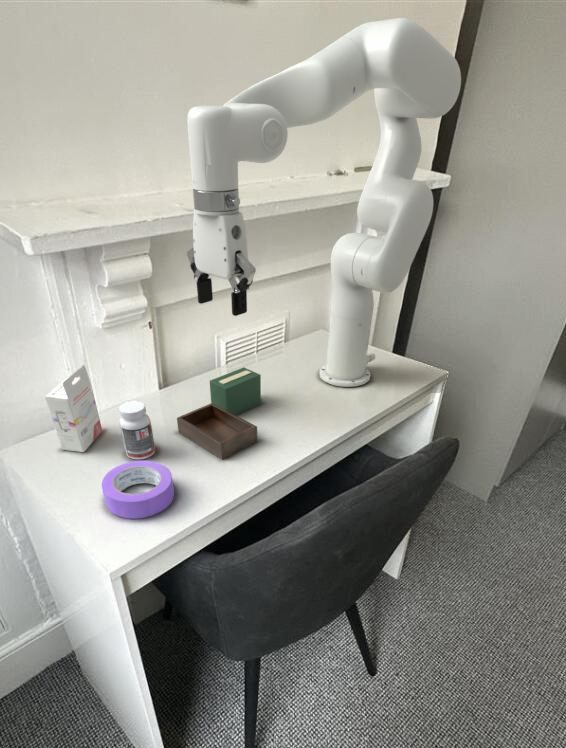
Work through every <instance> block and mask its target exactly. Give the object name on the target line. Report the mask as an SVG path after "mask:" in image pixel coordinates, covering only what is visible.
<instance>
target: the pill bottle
mask: <svg viewBox="0 0 566 748" xmlns="http://www.w3.org/2000/svg"><path fill="white" fill-rule="evenodd" d="M118 409H119V414H120V416H121V417H120V419H119V421H118V422H119V423H118V424H119V428H120V433H121V437H122V442H123V446H124V451H125V454H126V456H127V458H129V459H133V460H136V461H141V460H144V459H149V458H150V457H152V456H153V455H154V454H155V452H156V444H155V439H154V433H153V428H152V427H153V426H152V422H151V418H150V416H149V414H147V409H146V404H145V403H144V402H142V401H139V400H129V401H125V402H124V403H122V404H120V406H119V408H118Z"/></svg>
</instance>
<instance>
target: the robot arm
mask: <svg viewBox="0 0 566 748" xmlns="http://www.w3.org/2000/svg"><path fill="white" fill-rule="evenodd" d="M461 86H462V73H461V68H460V66H459V63H458V60H457V59H456V57H455V56H454V55H453V54H452V53H451V52H450V51H449V50H448V49H447V48H446V47H445V46H444V45H442V44H441V42H439V40H437V39H436V38H435V37H434V36H433V35H432V34H431V33H430V31H427V29H426V28H424V27H423V26H421V25H420V24H419V23H418V22H416V21H414V20H412V19H410V18H406V17H398V18H389V19H382V20H381V19H380V20H376V21H367V22H365V23H362V24H360V25H358V26H357V27H355V28H353V29H352V30H350V31H348V32H347V33H345V34H344V35H342V36H340V37H339V38H338V39H336V40H335V41H333V42H331V43H330V44H329V45H327V46H326V47H324V48H323V49H321V50H319V51H318V52H316V53H315V54H313V55H311V56H309V57H308V58H306V59H305V60H303V61H301V62H298V63H296V64H294V65H291V66H290V67H288V68H286V69H284V70H282V71H280V72H278V73H276V74H274V75H272V76H270V77H266V78H265V79H263V80H261V81H258V82H257V83H255V84H253V85H250V86H249V87H248V88H246V89H245V90H242V91H241V92H240V93H238V94H236V95H234V97H232V98H231V99H229V100H227V101H226V102H224V104H223V105H197V106H193V107H191V108H190V109H189V110H188V112H187V115H186V120H187V124H186V125H187V135H188V136H187V137H188V138H187V139H188V149H189V150H188V151H189V160H190V174H191V185H192V187H191V188H192V198H193V199H192V200H193V218H192V220H193V221H192V243H193V245H192V248H190V249H189V250H187V251H186V255H187V258H188V261H189V264H190V265H189V266H190V269H191V271H192V273H193V279H194V280H195V281H196V292H197V303H198V304H200V305H202V304H205V303H208V302H212V301H213V299H214V296H213V282H212V278H211V277H210V276H212V277H217V278H220V279H223V280H228V282H229V285H230V286H231V288H232V291H233V292H230V293H231V294H230V296H231V297H230V301H231V314H232V316H234V317H237V316H240V315H243V314H246V313H247V311H248V297H247V296H248V291H249V290H250V287H251V285H252V284H253V282H254V277H255V275H256V273H257V272H256V271H257V269H256V266H254V265H253V264H252V263H251V261H250V260H249V252H248V239H247V233H246V225H245V219H244V216H243V213H242V212H241V211H240V205H241V198H240V197H239V196H240V195H239V193H240V191H239V163H240V162H248V163H254V164H255V163H256V164H267V163H271V162H272V161H274V160H276V159H278V157H280V156H281V154H282V153H283V152H284V150H285V148H286V145H287V142H288V138H289V137H288V133H289V131H288V129H289V128H296V127H303V126H309V125H314V124H316V123H319V122H323V121H326V120H327V119H330V118H331V117H332V116H334V115H335V114H336V113H337V114H338V112H339V111H341V110H343V109H344V108H346V107H347V106H348V105H350V104H351V103H353V102H354V101H355V100H357V99H359V98H360V97H361V96H363V95H364V94H366V93H367V92H369V91H371V90H373V93H374V94H373V97H374V98H373V99H374V104H375V108H376V112H377V115H378V120H379V121H378V122H379V127H380V138H379V145H378V149H377V152H376V154H375V158H374V161H373V163H372V166H371V169H370V172H369V173H368V176H367V179H366V182H365V184H364V187H363V189H362V192H361V195H360V198H359V200H358V204H357V210H356V216H357V219H358V222H359V223H360V224H361V225H363V226H364V227H366V228H368V229H371V230H373V231H378V232H382V233H386V235H385V237H384V238H381V237H378V236H375V235H370V234H366V233H361V232H349V233H346V234H344V235H342V236H341V237H340V238H338V240H337V241H336V242H335V244H334V245H333V248H332V250H331V255H330V274H331V287H332V289H331V293H332V294H331V295H332V296H331V306H330V309H331V310H330V319H329V329H328V339H327V340H328V341H327V351H326V352H327V353H326V364H324V365H323V366H321V368H319V372H318V373H319V378H320V379H321V380H322V381H323V382H325V383H327V384H329V385H332V386H336V387H342V388H354V387H359V386H362V385H365V384H366V383H368V382H369V381H370V379H371V371H370V370H369V369H368V368H367V365H368V364H369V363H370V362H373V361H374V360H376V354H375V353H374V352H370V353H368V348H369V342H370V335H371V326H372V319H373V315H374V305H375V301H374V292H373V291H375V292H378V293H382V294H386V293H392V292H394V291H396V290H397V288H399V287H400V286H401V284H402V283H403V281H404V280H405V278H406V276H407V275H408V273H409V271H410V268H411V266H412V264H413V262H414V260H415V257H416V254H417V252H418V251H419V248H420V246H421V243H422V241H423V240H424V237H425V235H426V233H427V231H428V228H429V225H430V223H431V220H432V216H433V211H434V195H433V192H432V190H431V187H430V186H429V185H427V184H426V183H425V182H423V181H420V180H416V179H414V176H415V173H416V171H417V168H418V165H419V162H420V159H421V155H422V138H421V134H420V133H421V132H420V128H419V124H418V120H417V119H438V118H441V117H443V116H444V115H446V114H447V113H449V112H450V110H451V109H452V108H453V107H454V105H455V104H456V102H457V100H458V97H459V95H460V91H461ZM237 279H238V281H239V282H237Z"/></svg>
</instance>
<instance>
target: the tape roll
mask: <svg viewBox="0 0 566 748" xmlns="http://www.w3.org/2000/svg"><path fill="white" fill-rule="evenodd" d="M139 484H140V485H141V484H148V485H153V486H154V487H153V488H152V489H151V488H150V489H149V490H147V491H144V492H140V493H126V492H123V491H124V490H125V489H127V488H129V487H131V486H134V485H139ZM101 489H102V493H103V498H104V501H105V505H106V507H107V509H108V510H109V511H110V512H111V513H112V514H113V515H115V516H117V517H119V518H125V519H131V520H132V519H133V520H134V519H136V520H137V519H144V518H149V517H153V516H155V515H157V514H159V513H161V512H163V511H164V510H166V509H167V508H168V507H169V506H170V505H171V504H172V502H173V500H174V497H175V488H174V482H173V474H172V472H171V470H170V469H169V468H168V467H167V466H166V465H164V464H162V463H159V462H157V461H152V460H134V461H133V460H132V461H128V462H125V463H121V464H119V465H116V466H115V467H113V468H111V469H110V470H109V471H108V472H107V473H106V474H105V475H104V477H103V479H102V480H101Z"/></svg>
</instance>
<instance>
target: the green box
mask: <svg viewBox="0 0 566 748" xmlns="http://www.w3.org/2000/svg"><path fill="white" fill-rule="evenodd" d="M261 377H262V376H261V374H260V373H257V372H255V371H253V370H252V369H248V368H246V367H245V366H244V367H241V368H238V369H235V370H233V371H231V372H228V373H226V374H223V375H221V376H218V377H215V378H212V379H210V380H209V392H210V394H209V395H210V404H211V403H214V404H215V405H217V406H219V407H221V408H223V409H225V410H227V411H229V412H230V413H232V414H234V415H236V416H238V415H240V414H241V413H244V412H245V411H248V410H250V409H252V408H254V407H256V406H258V405H261V403H262V402H261V401H262V397H261V395H262V394H261V393H262V391H261V390H262V389H261V388H262V385H261V384H262V383H261V382H262V379H261Z"/></svg>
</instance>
